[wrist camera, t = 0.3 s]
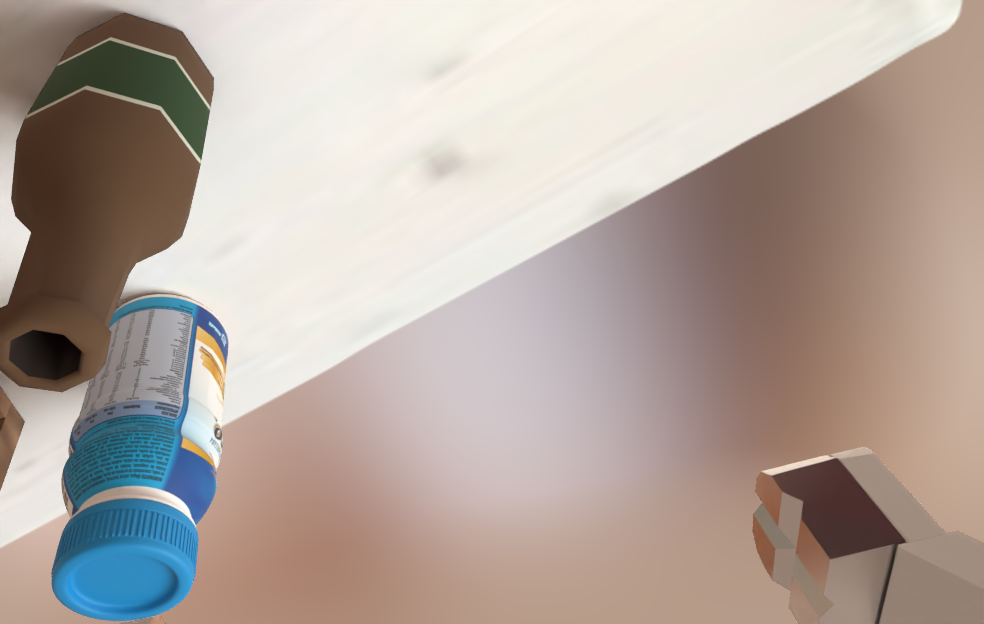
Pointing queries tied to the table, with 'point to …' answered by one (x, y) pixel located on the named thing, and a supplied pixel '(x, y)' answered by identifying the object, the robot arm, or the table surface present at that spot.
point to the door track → (8, 433)
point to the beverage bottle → (143, 462)
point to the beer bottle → (99, 191)
